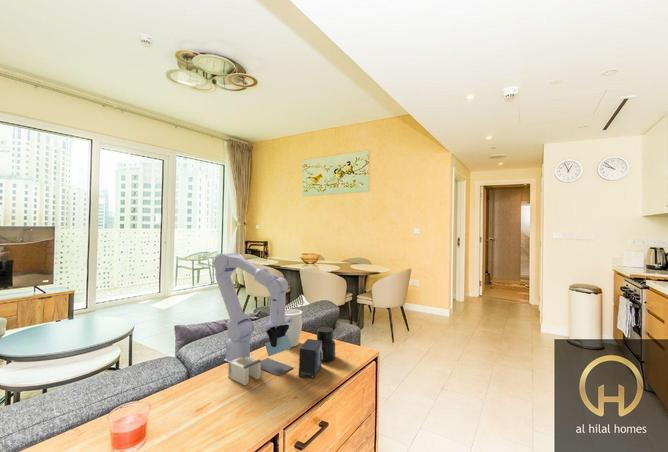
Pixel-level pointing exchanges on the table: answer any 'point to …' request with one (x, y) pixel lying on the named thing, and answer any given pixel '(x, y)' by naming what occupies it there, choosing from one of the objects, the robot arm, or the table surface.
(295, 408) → the table surface
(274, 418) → the table surface
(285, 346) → the slab
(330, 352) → the ink bottle
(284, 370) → the mat
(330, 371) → the table surface
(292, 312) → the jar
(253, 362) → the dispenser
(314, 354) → the small box
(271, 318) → the robot arm
